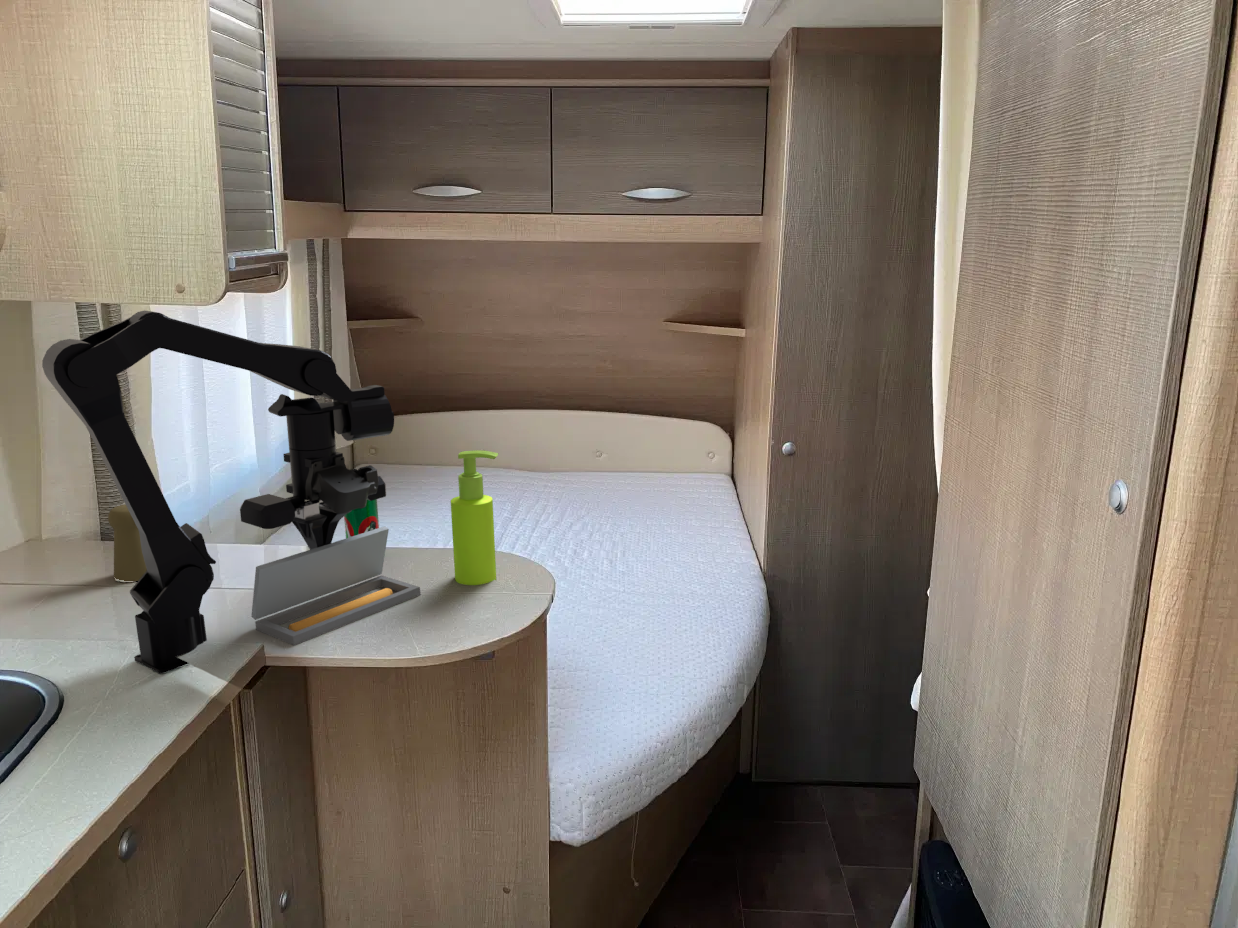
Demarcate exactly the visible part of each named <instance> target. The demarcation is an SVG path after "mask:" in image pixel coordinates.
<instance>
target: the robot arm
mask: <svg viewBox="0 0 1238 928" xmlns="http://www.w3.org/2000/svg"><path fill="white" fill-rule="evenodd" d="M158 349H164V350H168V351H171V352H174V353H180V354H184V355H187V356H191V357H195V358H199V359H203V360H206V361H209V362H214V363H218V364H222V365H226V366H229V367H234V368H237V369H242V370H245V371H249V372H251V373H253V374H256V375H257V376H259V377H262V378H263V379H265V380H267V381H270V382H272V383H274V384H276V385H279V386H281V387H283V388H286V389H288V390H290V391H294V392H297V393H301V394H304V395H307V396H312V397H305V398H295V399H294V398H293V399H292V398H291V397H290V396H289V395H286V394H283V393H280V395H279V396H278V398H277V400H276V401H275V402H273V403H272V404H271V405H270V406H269V407H268V410H267V411H268V413H270V414H273V415H275V416H278V417H286V427H287V428H286V430H287V439H288V440H287V441H288V451H289V452H286V453H285V452H284V453H282V454H283V462H285V463H289V464H290V476H291V483H288V484H285V487H286V488H285V489H286V493H288V494H291V495H292V496H289V497H286V498H284V497H281V496H278V495H274V494H271V493H270V494H269V493H266V494H262V495H260V496H259V495H258V496H255V497H250V498H247V499H244V500H243V502H242V503H241V505H240V508H239V511H240V512H239V513H240V514H239V515H240V522H242V523H245V524H248V525H251V526H255V527H257V528H262V529H264V530H273V529H276V528H280V527H284V526H286V525H290V524H291V523H292V524H293V525H294V527H295V528H296V530H298V532H299V534H300V535H301V537H302V539H303V540H304V542H305V544H306V545H307V547H308V549H309V550H311V549H314V548H319V547H322V546H324V545H328V544H331V543H333V538H334V535H335V533H336V530H337V526H338V524H339V522H340V521H341V520H342V519H343V518H344V516H345V515H346V514H347V513H349V512H351V511H352V510H354V509H357V508H360V509H362V508H364V507H366V503H367V500H369V501H372V500H376V499H377V500H378V499H383V498H386V497H387V486H386V485H387V484H386V481H385V480H384V479H383V478H382V477H381V476H380V475H379V474H378V469H377V468H375V467H374V466H373V465H366V466H362V467H359V468H358V469H357V468H353V469H349V468H348V467H347V465H346V463H345V456H344V455H343V452H339V451H337V446H336V445H337V443H336V434H337V435H341V436H342V438H343V439H344V440H345V441H347V442H349V441H355V440H362V439H363V440H364V439H370V438H376V437H378V438H379V437H383V436H390V435H391V434H392V432H393V430H394V427H395V413H394V411H392V406H391V404H390V401H389V398H387V396H386V395H385V392H386V391H385V387H384V386H382V385H379V384H378V385H377V384H373V385H372V384H371V385H367V386H364V387H361V388H350V387H349V386H348V385H347V384H346V382H345V381H344V380H343V379H342V377H340V376H339V374H338V373H337V368H336V367H337V366H336V363H335V361H334V359H333V357H332V356H331V355H330V354H329V353H327V352H325V351H323V350H319V349H314V348H309V347H304V346H299V345H288V344H279V343H269V342H268V343H267V342H266V343H265V342H258V341H254V340H250V339H246V338H243V337H239V336H236V335H232V334H229V333H226V332H221V331H218V330H214V329H211V328H206V327H203V326H200V325H196V324H194V323H190V322H185V321H182V320H178V319H175V318H171V317H169V316H167V315H165V314H163V313H161V312H156V311H153V310H152V311H151V310H140V311H136V312H135V313H134V314H133V315H132V316H129V318H126V319H124V320H122V321H120V322H118V323H116V324H112V325H110V326H107V327H105V328H103V329H100V330H99V331H96V332H94V333H91V334H89V335H87V336H85V337H84V338H82V339H76V338H67V339H63V340H58V341H57V342H55V343H53V344H52V345H51V346H50V347H49V348H48V349H47V350H46V351H45V354H44V357H43V359H42V361H41V362H42V364H41V365H42V367H41V368H42V369H43V373H44V375H45V377H46V378H47V380H48V381H49V382H50V384H51V385H52V386H53V387H54V389H55V390H56V391H57V393H58V394H59V395H60V397H62V399H63V401H64V402H65V403H66V404H67V405H68V407H70V409H71V410H72V411H73V412H74V413H75V415H76V416H77V417H78V418H79V420H80V421H81V422H82V423H83V424H84V426H85V428H86V429H87V431H88V433H89V435H90V437H91V439H92V442H93V443H94V445H95V447H96V449H97V451H98V454H99V455H100V457H101V459H102V461H103V464H104V465H105V466H106V468H107V471H108V473H109V474H110V477H111V479H112V480H113V482H114V484H115V486H116V488H117V490H118V493H119V494H120V496H121V499H122V500H123V503H124V505H125V504H126V506H127V508H128V510H129V512H130V514H131V516H132V518H133V520H134V522H135V524H136V526H137V528H138V530H139V534H140V541H141V548H142V554H143V557H144V561H145V564H146V568H147V571H146V572H145V573H144V574H143V576H142V577H141V578H140V579H139V580H138V582H135V584H134V585H133V587H132V588H131V589H130V590H129V594H130V596H131V598H132V600H133V601H134V602H135V604H136V605H137V606H138V607H140V608H141V609H142V612H141V613H137V614H135V615H134V619H135V625H136V634H137V639H138V647H139V653H140V654H137V655H134V661H135V663H139V664H140V665H142V666H144V667H147V668H148V669H150V670H153V671H155V672H156V673H158V674H166V673H168V672H170V671H173V670H175V669H178V668H182V667H183V666H186V665H188V664H190V662H188V661H187V660H184V659H182V658H179V657H180V656H183V655H187V654H189V653H190V652H193V651H194V650H195V649H197V647H198V646H199V645H202V644H203V643H204V642H207V641H208V639H207V632H206V624H205V616H204V614H202V613H200V609H201V608H200V607H201V605H202V601H203V598H204V597H203V596H204V595H206V593H207V592H208V590H210V587H211V585H212V583H213V582H214V580H215V579H214V577H215V576H214V575H215V573H214V570H213V567H212V565H215V564H216V563H217V561H216V560H215V559H214V558H213V557H211V555H210V554H209V552H208V550H207V547H206V546H207V545H206V543H205V538H204V536H203V533H201V532H199V531H198V530H197V529H196V528H194V527H193V526H192V525H190V524H189V523H186V522H185V523H184V524H183V525H181V526H180V525H179V524H178V522H177V521H176V519H175V517H174V514H173V512H172V510H171V507H169V504H168V502H167V500H166V498H165V495H164V494H163V491H162V489H161V488H160V486H159V484H158V481H157V480H156V477H155V476H154V473H153V472H152V470H151V468H150V465H149V463H148V461H147V459H146V457H145V455H144V453H143V451H142V448H141V447H140V445H139V442H138V441H137V439H136V437H135V434H134V433H133V431H132V429H131V427H130V424H129V421H128V420H127V418H126V415H125V411H124V410H125V409H124V404H123V396H122V390H121V386H120V382H119V378H118V374H120V373H122V372H123V371H125V370H128V369H129V368H131V367H133V366H134V365H136V364H137V363H138V362H140V361H141V360H143V359H144V358H145V357H146V356H148V355H150V354H151V353H153V352H154V351H156V350H158ZM314 397H322V398H326V399H329V400H333V401H329V402H318V400H317V399H315V398H314Z"/></svg>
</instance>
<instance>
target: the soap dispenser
mask: <svg viewBox="0 0 1238 928" xmlns="http://www.w3.org/2000/svg"><path fill="white" fill-rule="evenodd" d="M498 455H499V453H498V452H494V451H491V450H490V451H489V450H480V449H479V450H478V449H477V450H466V451H465V450H464V451H460V452H459V453H458V455H457V456H458V457H457V459H458V460H459V459H462V460H463V472H462V473H461V474H459V475H458V477H457V479H458V496H455V497H453V498H451V499H450V514H451V515H450V516H451V531H452V548H453V563H454V565H453V566H454V579H455V582H456V583H457V584H460V585H465V586H480V585H485V584H489V583H492V582H493V581H497V565H496V564H497V563H496V544H495V525H494V524H495V522H494V521H495V519H494V518H495V517H494V501H493V500H494V499H493V497H492V496H490V495H488V494H484V479H483V474H482V473H479V471H477V459H478V458H480V459H481V458H482V459H483V458H484V459H491V460H495V459H496V458H497V457H498Z"/></svg>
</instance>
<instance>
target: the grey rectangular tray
mask: <svg viewBox="0 0 1238 928" xmlns="http://www.w3.org/2000/svg"><path fill="white" fill-rule="evenodd" d="M379 588H384V589H385V588H389V589H391V590H392V591H395V592H393V594H392V595H389V596H387V597H384V598H381V599H379V600H376V601H374V602H371V603H369V604H366V605H363V606H361V607H358V608H356V609H353V610H351V611H348V612H345V613H343V614H340V615H338V616H335V617H333V618H330V619H327V620H325V621H322V622H320V623H317V624H315V625H312V626H309V627H307V628H304V629H302V630H299V631H297V632H295V631H292V630H290V629H289V628H287V627H284V626H282V625H283V624H286V623H289V622H291V621H293V620H296V619H299V618H302V617H304V616H306V615H310V614H312V613H315V612H318V611H320V610H323V609H326V608H329V607H330V606H333V605H337V604H338V603H341V602H345V601H346V600H349V599H352V598H354V597H357V596H360V595H363V594H365V593H368V592H370V591H371V592H372V591H373V590H376V589H379ZM418 596H421V586H418V585H415V584H411V583H409V582H408V583H407V582H405V581H402V580H399V579H396V578H395V579H394V578H391V577H388V576H386V575H382V574H380V575H378V576H375V577H372V578H369V579H367V580H364V581H361V582H358V583H356V584H353V585H350V586H347V587H345V588H342V589H339V590H336V591H334V592H331V593H328V594H326V595H323V596H320V597H317V598H315V599H314V600H313V599H312V600H309V601H306V602H304V603H301V604H298V605H295V606H293V607H292V608H291V607H290V608H287V609H284V610H282V611H281V612H280V611H279V612H276V613H273V614H271V615H268V616H265V617H262V618H260V619H257V620H255V621H254V623H255V630H256V631H258V632H260V633H263V634H265V635H267V636H270V637H272V638H275V639H278V640H280V641H281V642H282V641H283V642H285V643H287V644H290V645H292V646H296V645H299V644H302V643H304V642H307V641H309V640H311V639H315V638H317V637H319V636H321V635H323V634H326V633H329V632H332V631H334V630H336V629H339V628H341V627H344V626H346V625H349V624H351V623H353V622H356V621H358V620H361V619H364V618H366V617H369V616H372V615H373V614H374V615H375V614H376V613H378V612H381V611H383V610H387V609H389V608H391V607H393V606H396V605H398V604H401V603H403V602H406V601H409V600H411V599H413V598H416V597H418Z"/></svg>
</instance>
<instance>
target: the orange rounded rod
mask: <svg viewBox="0 0 1238 928" xmlns="http://www.w3.org/2000/svg"><path fill="white" fill-rule="evenodd" d="M392 594H394V592H393V590H391V589H389V588H385V587H384V588H382V589H380V590H378V591H374V592H372V593H369V594H367V595H364V596H361V597H359V598H356V599H354V600H351V601H349V602H345V603H343V604H341V605H337V606H335V607H333V608H330V609H327V610H325V611H322V612H320V613H317V614H313V615H311V616H309V617H306V618H304V619H301V620H298V621H296V622H292V623H290V624H289V625H288V629H290V630H292V631H295V632H297V631H299V630H302V629H304V628H307V627H309V626H312V625H315V624H317V623H320V622H322V621H325V620H327V619H330V618H333V617H335V616H338V615H340V614H343V613H345V612H348V611H351V610H353V609H356V608H358V607H361V606H363V605H366V604H369V603H371V602H374V601H376V600H379V599H381V598H384V597H387V596H389V595H392Z"/></svg>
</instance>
